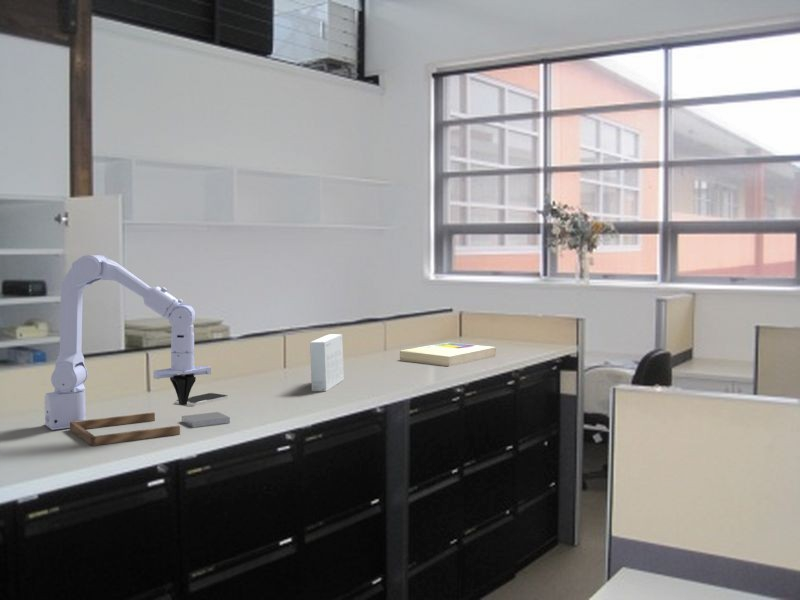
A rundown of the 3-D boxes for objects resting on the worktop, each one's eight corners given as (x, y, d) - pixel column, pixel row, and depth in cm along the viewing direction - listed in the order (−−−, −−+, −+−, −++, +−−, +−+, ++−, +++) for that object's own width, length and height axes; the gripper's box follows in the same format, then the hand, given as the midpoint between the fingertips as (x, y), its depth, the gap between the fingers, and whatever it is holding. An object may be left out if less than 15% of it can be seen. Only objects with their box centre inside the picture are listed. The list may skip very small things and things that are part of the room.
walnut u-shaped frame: (91, 446, 189) (91, 437, 189) (70, 429, 205) (70, 422, 205) (179, 434, 202) (179, 426, 202) (153, 419, 217) (153, 412, 217)
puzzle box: (398, 361, 328) (449, 367, 313) (398, 350, 327) (449, 355, 313) (449, 352, 356) (497, 357, 342) (449, 342, 356) (497, 346, 342)
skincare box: (328, 379, 281) (328, 333, 280) (344, 380, 280) (344, 334, 279) (309, 391, 261) (309, 341, 259) (326, 391, 260) (326, 341, 258)
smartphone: (229, 395, 248) (193, 403, 235) (229, 399, 248) (193, 408, 235) (210, 392, 251) (173, 400, 239) (210, 397, 252) (173, 405, 239)
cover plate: (192, 429, 209) (192, 421, 209) (181, 423, 215) (181, 416, 215) (229, 424, 215) (229, 417, 214) (217, 419, 221) (217, 411, 221)
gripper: (160, 355, 203) (160, 410, 204) (215, 351, 212) (215, 403, 213) (150, 352, 209) (150, 405, 210) (205, 348, 217) (205, 399, 218)
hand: (182, 404), depth 212 cm, fingers closed
